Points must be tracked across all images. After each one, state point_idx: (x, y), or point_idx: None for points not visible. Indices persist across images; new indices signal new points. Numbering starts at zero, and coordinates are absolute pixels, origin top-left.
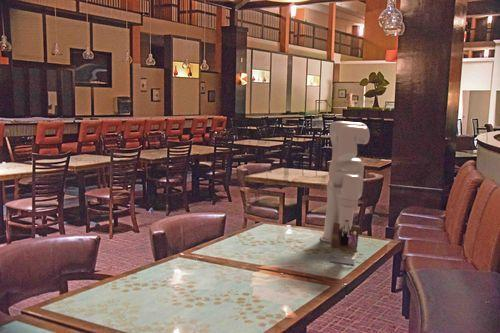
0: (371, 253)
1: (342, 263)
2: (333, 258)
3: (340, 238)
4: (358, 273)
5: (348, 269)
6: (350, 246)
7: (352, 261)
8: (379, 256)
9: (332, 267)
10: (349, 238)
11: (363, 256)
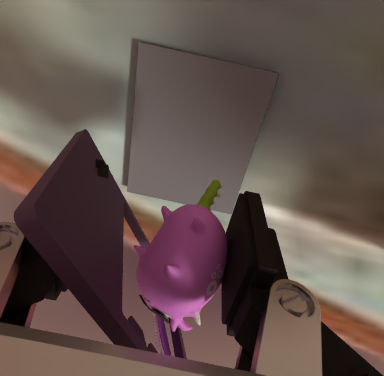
0: (370, 312)
1: (134, 128)
2: (211, 79)
3: (82, 187)
4: (10, 182)
5: (47, 144)
6: (137, 238)
7: (179, 195)
8: None
9: (29, 40)
10: (139, 286)
11: (315, 269)
